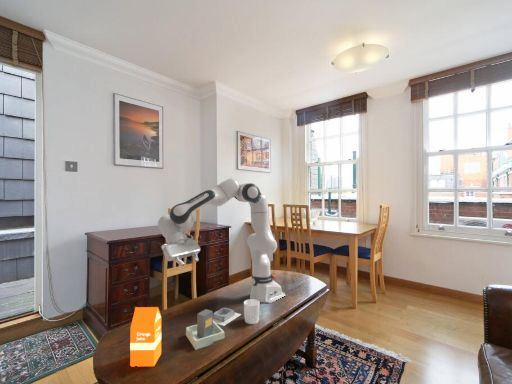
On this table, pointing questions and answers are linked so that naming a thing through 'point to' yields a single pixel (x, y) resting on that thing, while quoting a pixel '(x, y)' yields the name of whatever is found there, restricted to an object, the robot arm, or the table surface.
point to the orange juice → (145, 337)
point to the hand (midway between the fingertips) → (190, 263)
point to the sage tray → (206, 341)
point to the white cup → (251, 311)
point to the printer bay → (224, 316)
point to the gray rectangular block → (204, 323)
